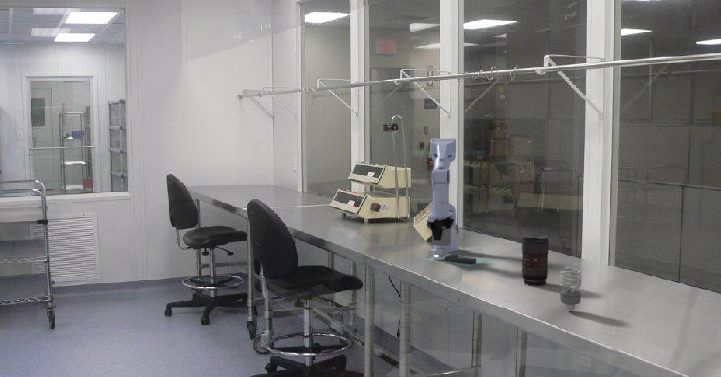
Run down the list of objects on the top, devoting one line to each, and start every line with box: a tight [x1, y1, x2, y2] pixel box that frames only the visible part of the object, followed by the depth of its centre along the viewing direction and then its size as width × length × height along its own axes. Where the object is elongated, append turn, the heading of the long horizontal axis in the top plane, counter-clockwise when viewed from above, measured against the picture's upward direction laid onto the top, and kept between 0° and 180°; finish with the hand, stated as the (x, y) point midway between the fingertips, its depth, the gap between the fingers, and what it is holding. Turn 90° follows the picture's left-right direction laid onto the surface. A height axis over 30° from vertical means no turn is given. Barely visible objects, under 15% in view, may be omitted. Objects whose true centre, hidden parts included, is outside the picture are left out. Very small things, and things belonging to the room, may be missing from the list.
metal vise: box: [432, 247, 477, 265], centre depth 270 cm, size 17×6×4 cm, turn 49°
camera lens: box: [521, 234, 550, 287], centre depth 233 cm, size 8×8×15 cm
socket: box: [431, 226, 451, 246], centre depth 273 cm, size 5×5×7 cm
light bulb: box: [559, 266, 583, 311], centre depth 201 cm, size 6×6×12 cm
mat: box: [423, 253, 491, 268], centre depth 273 cm, size 15×20×1 cm
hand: (441, 239), depth 273 cm, fingers closed on socket, 5 cm apart
